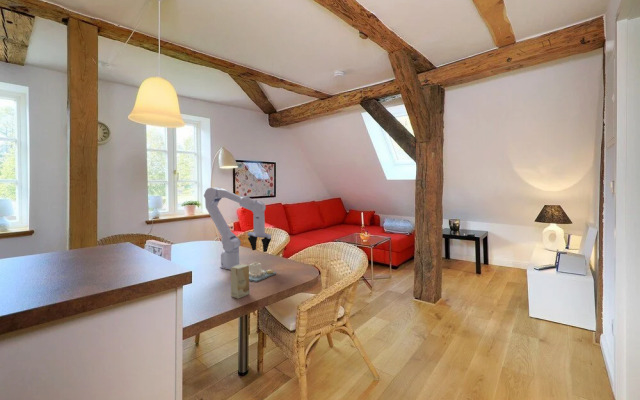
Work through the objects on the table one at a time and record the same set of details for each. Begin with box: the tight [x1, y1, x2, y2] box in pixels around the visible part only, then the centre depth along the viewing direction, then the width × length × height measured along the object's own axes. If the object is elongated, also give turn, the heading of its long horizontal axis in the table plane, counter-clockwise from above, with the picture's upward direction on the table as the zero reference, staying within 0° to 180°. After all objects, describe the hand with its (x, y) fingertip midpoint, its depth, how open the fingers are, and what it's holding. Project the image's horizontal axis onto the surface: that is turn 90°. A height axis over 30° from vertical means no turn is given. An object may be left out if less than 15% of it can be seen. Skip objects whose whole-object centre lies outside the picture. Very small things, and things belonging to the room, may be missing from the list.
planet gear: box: [248, 261, 266, 277], centre depth 149 cm, size 9×9×5 cm
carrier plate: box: [249, 268, 277, 283], centre depth 149 cm, size 14×14×4 cm
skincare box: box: [230, 263, 250, 299], centre depth 123 cm, size 6×4×12 cm
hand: (259, 250), depth 160 cm, fingers open, 7 cm apart
